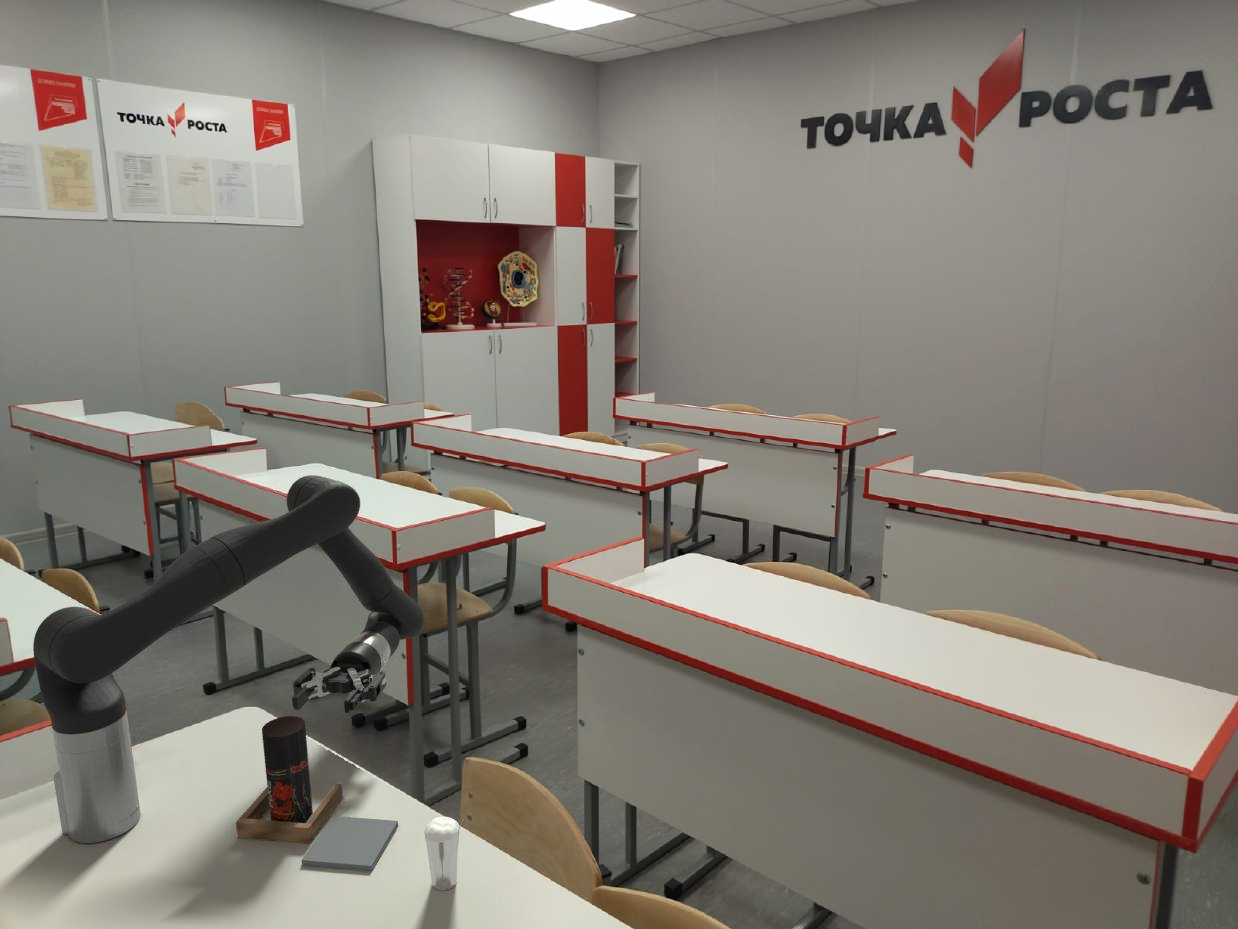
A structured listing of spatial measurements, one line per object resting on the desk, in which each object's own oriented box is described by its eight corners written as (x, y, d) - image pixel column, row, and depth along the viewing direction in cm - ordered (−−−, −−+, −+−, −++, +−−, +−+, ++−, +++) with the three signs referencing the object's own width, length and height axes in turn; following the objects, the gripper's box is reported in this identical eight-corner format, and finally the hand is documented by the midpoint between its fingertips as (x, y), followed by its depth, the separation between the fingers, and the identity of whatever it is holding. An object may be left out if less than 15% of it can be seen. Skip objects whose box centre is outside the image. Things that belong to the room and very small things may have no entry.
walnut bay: (237, 837, 127) (235, 822, 127) (275, 793, 138) (274, 779, 137) (310, 843, 126) (308, 828, 125) (342, 798, 136) (341, 784, 136)
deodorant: (321, 813, 133) (313, 722, 129) (289, 834, 128) (280, 741, 124) (294, 801, 136) (286, 712, 132) (262, 822, 131) (252, 730, 127)
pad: (301, 865, 121) (301, 860, 121) (333, 820, 131) (333, 815, 131) (371, 871, 120) (371, 866, 120) (398, 825, 130) (397, 821, 130)
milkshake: (460, 897, 115) (456, 830, 113) (421, 891, 116) (417, 824, 114) (472, 874, 120) (469, 809, 117) (435, 869, 121) (432, 804, 118)
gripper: (321, 639, 156) (276, 682, 140) (399, 642, 154) (362, 687, 138) (325, 677, 157) (281, 725, 142) (402, 681, 156) (365, 730, 140)
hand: (321, 706), depth 140 cm, fingers open, 8 cm apart
